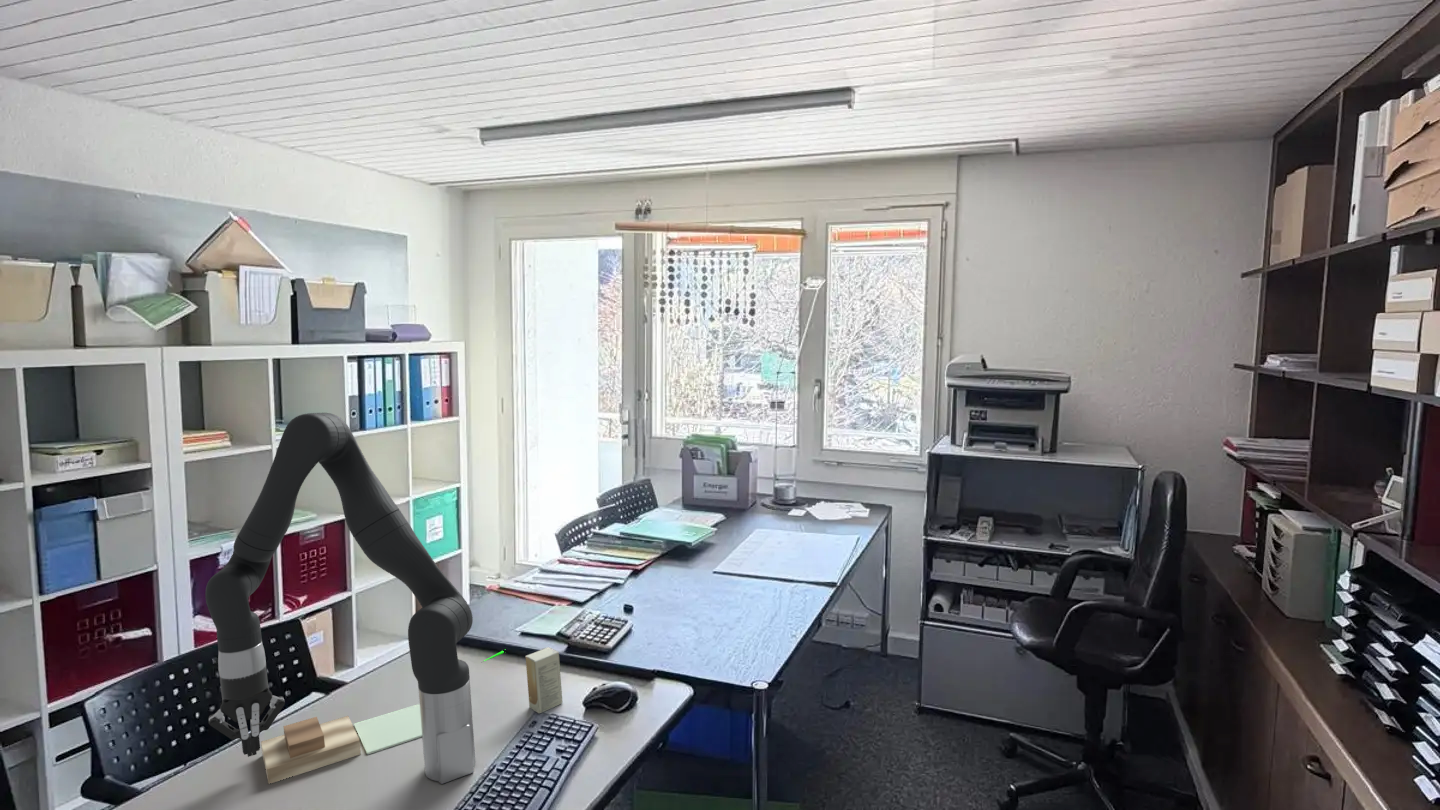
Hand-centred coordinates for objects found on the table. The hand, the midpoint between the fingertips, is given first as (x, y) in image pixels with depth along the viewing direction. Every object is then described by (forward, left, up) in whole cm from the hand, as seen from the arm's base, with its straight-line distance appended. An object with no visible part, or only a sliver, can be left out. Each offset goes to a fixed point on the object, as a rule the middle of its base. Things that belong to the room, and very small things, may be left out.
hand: (252, 753), depth 148 cm
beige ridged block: (0, -10, -4) cm, 11 cm away
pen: (+22, -57, -5) cm, 61 cm away
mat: (0, -29, -4) cm, 29 cm away
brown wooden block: (0, -9, 0) cm, 9 cm away
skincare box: (-11, -55, -4) cm, 56 cm away
